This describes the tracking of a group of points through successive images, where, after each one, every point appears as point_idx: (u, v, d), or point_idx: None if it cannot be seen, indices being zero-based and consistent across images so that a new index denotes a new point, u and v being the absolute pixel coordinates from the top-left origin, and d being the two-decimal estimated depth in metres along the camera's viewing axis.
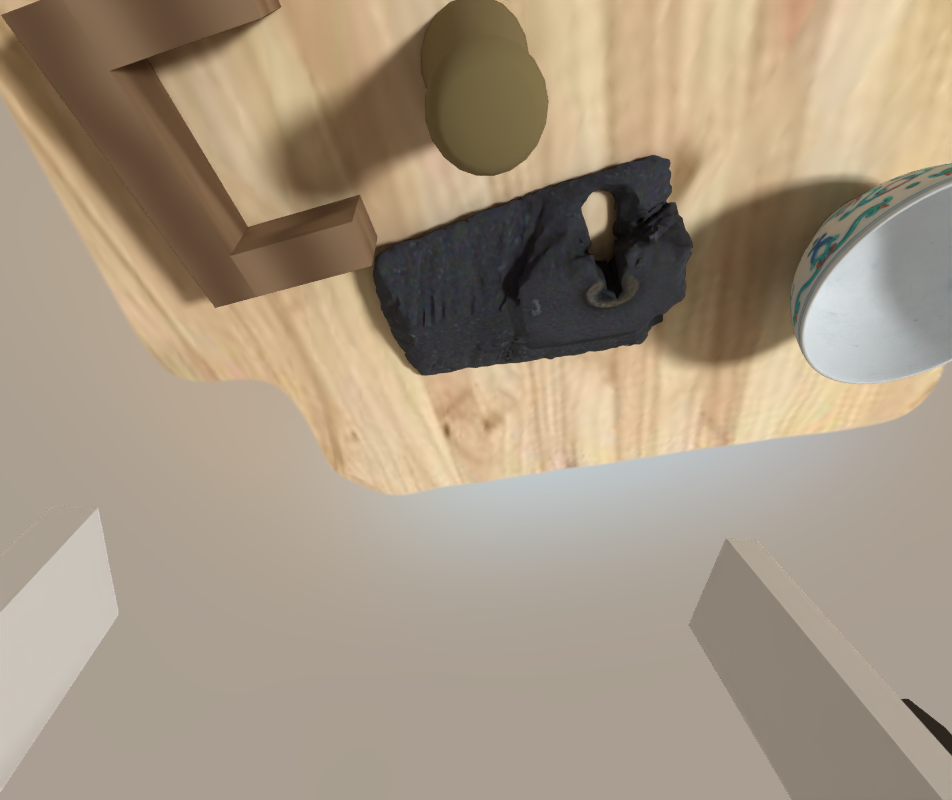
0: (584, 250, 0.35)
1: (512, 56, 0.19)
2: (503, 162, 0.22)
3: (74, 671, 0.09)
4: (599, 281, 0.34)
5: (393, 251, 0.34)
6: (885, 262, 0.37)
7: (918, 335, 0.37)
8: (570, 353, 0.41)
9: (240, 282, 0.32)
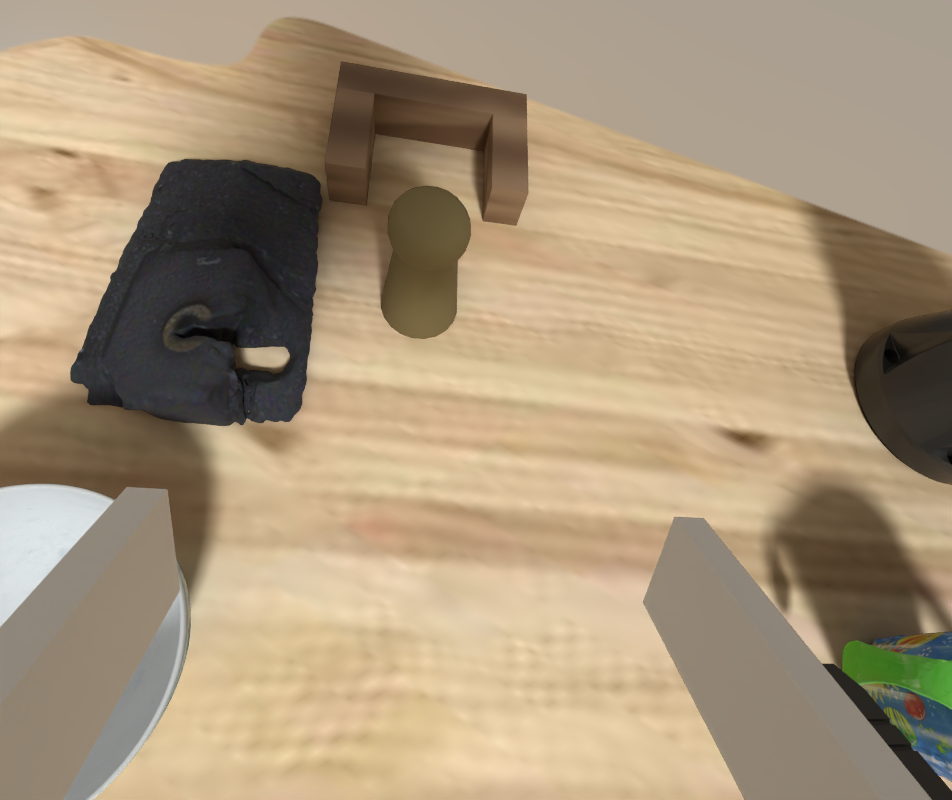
0: (238, 332, 0.36)
1: (459, 238, 0.30)
2: (401, 211, 0.30)
3: (147, 639, 0.10)
4: (210, 315, 0.33)
5: (318, 192, 0.40)
6: None
7: None
8: (109, 291, 0.35)
9: (352, 86, 0.42)
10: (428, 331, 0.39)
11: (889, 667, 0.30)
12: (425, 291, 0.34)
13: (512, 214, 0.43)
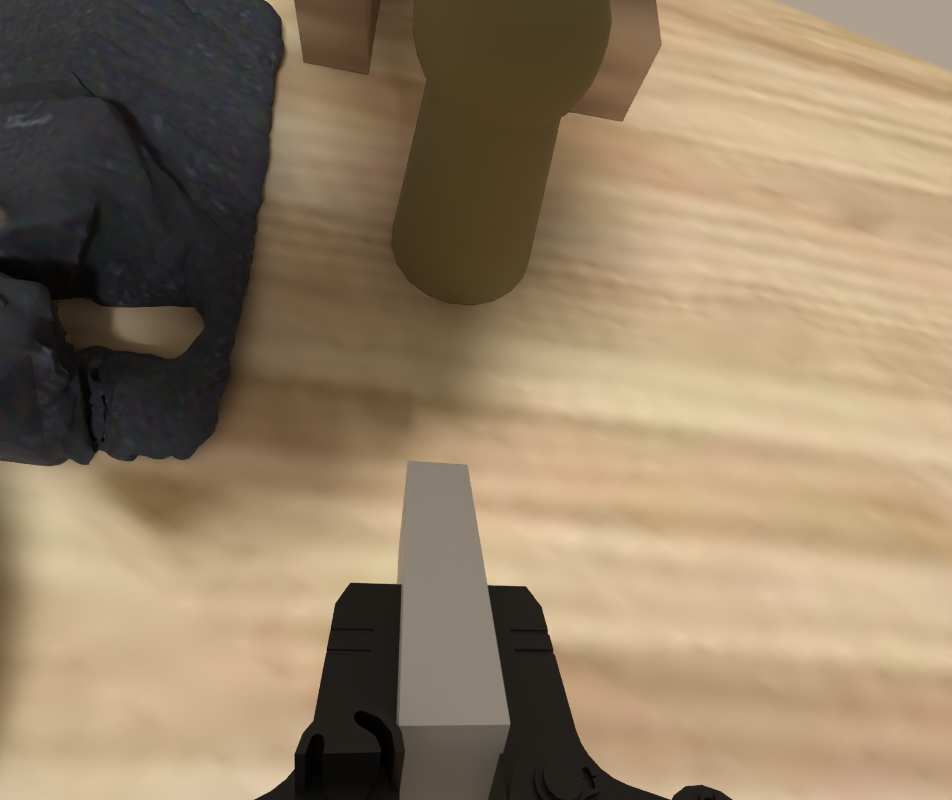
0: (94, 272, 0.18)
1: (593, 31, 0.12)
2: None
3: None
4: (5, 224, 0.15)
5: (276, 32, 0.22)
6: None
7: None
8: None
9: None
10: (481, 290, 0.20)
11: None
12: (488, 193, 0.16)
13: (621, 96, 0.25)
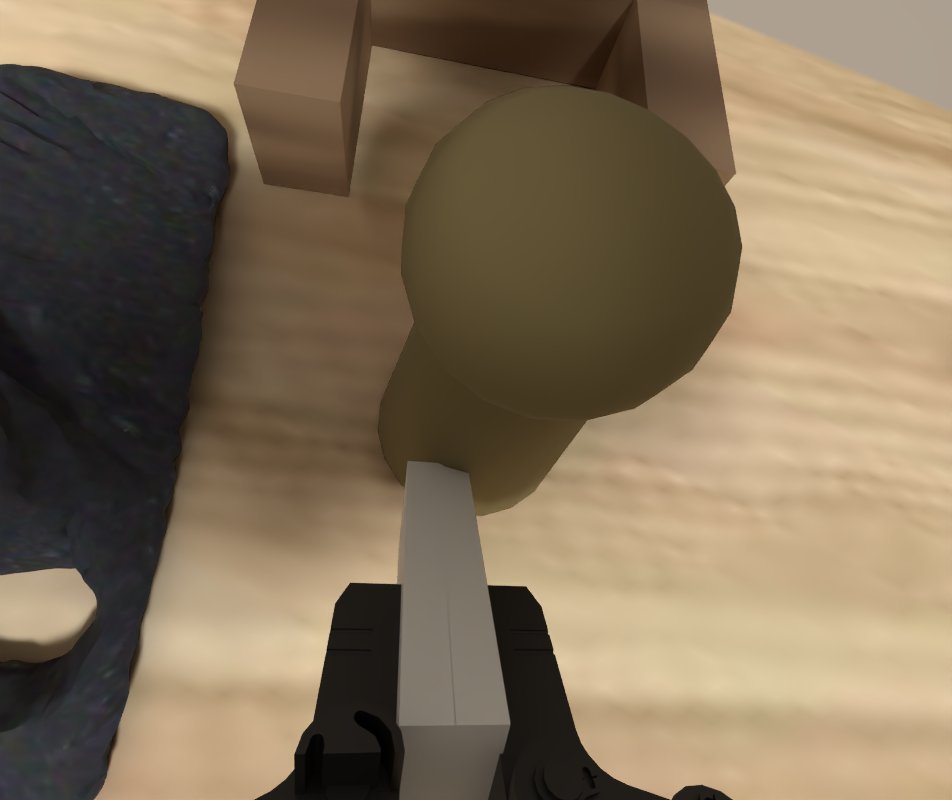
0: None
1: (718, 316, 0.07)
2: (469, 183, 0.06)
3: None
4: None
5: (218, 154, 0.16)
6: None
7: None
8: None
9: None
10: (496, 506, 0.15)
11: None
12: (514, 451, 0.11)
13: None
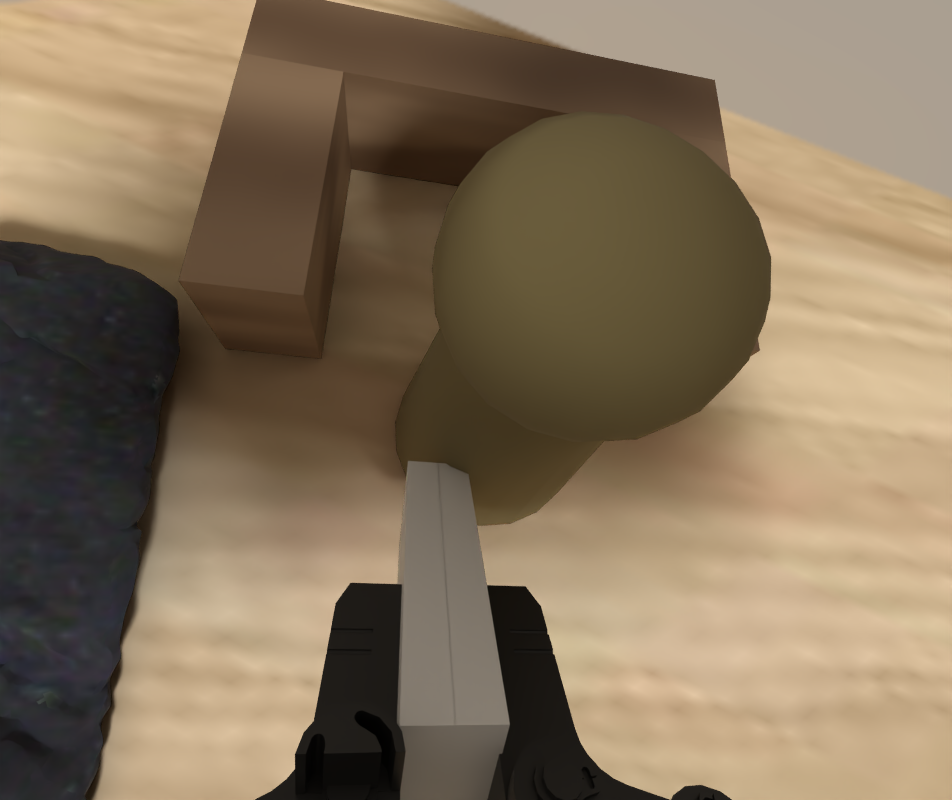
0: None
1: (732, 361, 0.07)
2: (506, 191, 0.07)
3: None
4: None
5: (165, 334, 0.14)
6: None
7: None
8: None
9: (284, 51, 0.16)
10: (494, 518, 0.15)
11: None
12: (516, 463, 0.11)
13: None
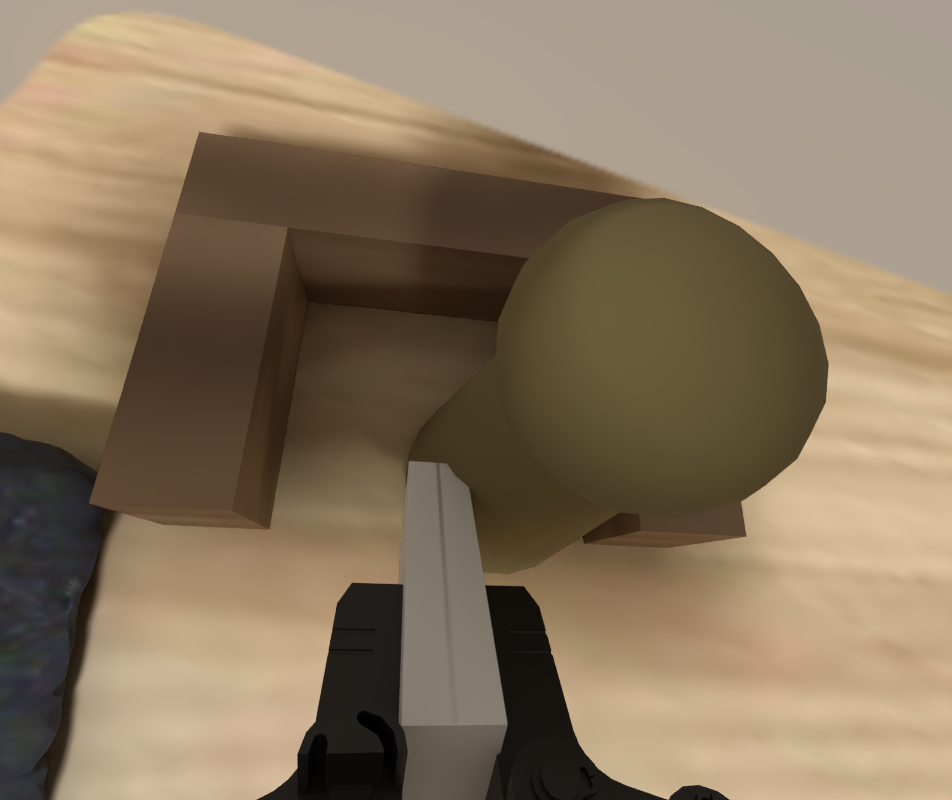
0: None
1: (747, 473, 0.07)
2: (605, 236, 0.07)
3: None
4: None
5: (84, 530, 0.13)
6: None
7: None
8: None
9: (223, 207, 0.14)
10: None
11: None
12: (509, 501, 0.11)
13: (670, 543, 0.16)
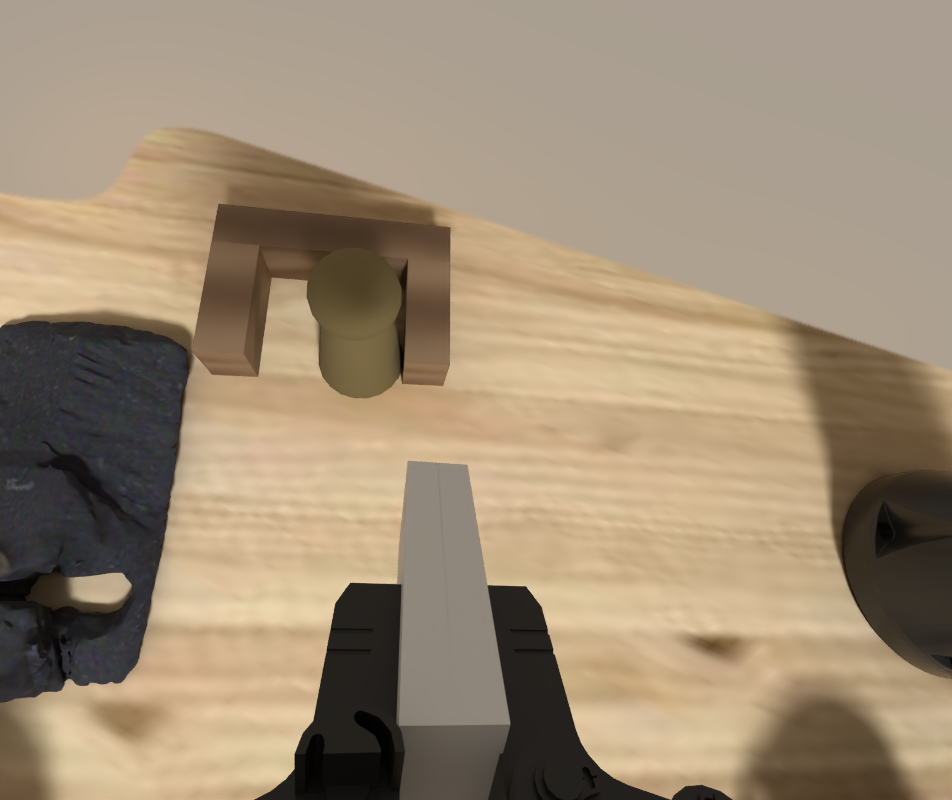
0: (62, 565, 0.29)
1: (364, 320, 0.27)
2: (324, 263, 0.27)
3: None
4: (8, 570, 0.26)
5: (182, 366, 0.33)
6: None
7: None
8: None
9: (231, 237, 0.34)
10: (344, 389, 0.35)
11: None
12: (336, 351, 0.31)
13: (435, 379, 0.36)
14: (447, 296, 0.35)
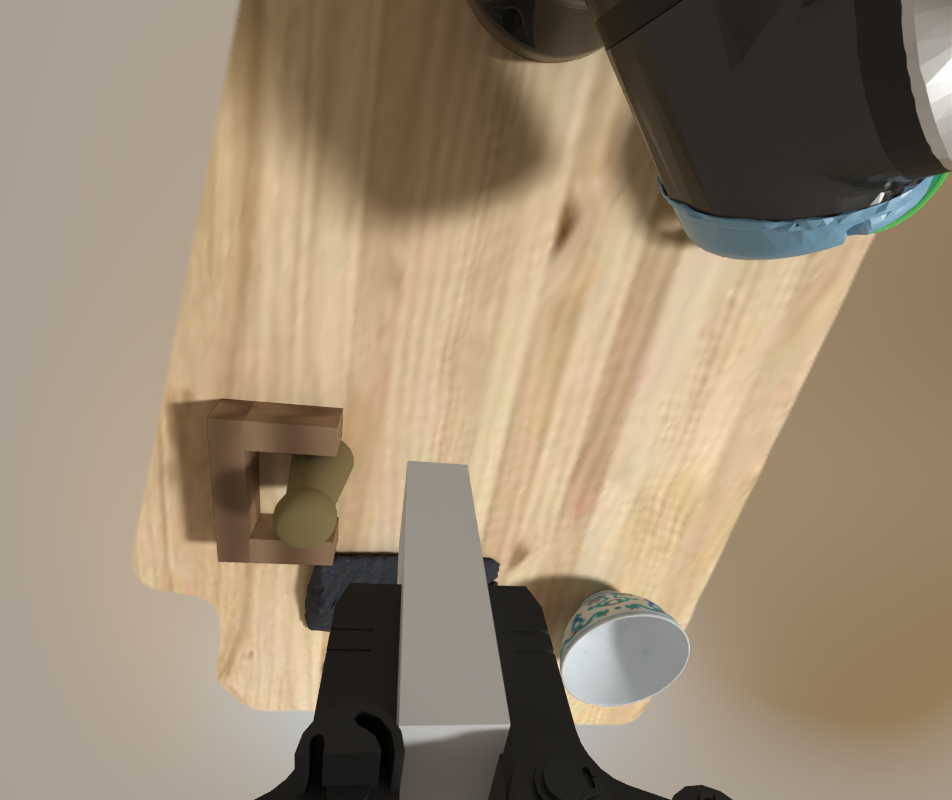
0: None
1: (329, 521, 0.42)
2: (290, 544, 0.42)
3: None
4: None
5: (335, 561, 0.54)
6: (615, 628, 0.64)
7: (626, 679, 0.63)
8: None
9: (245, 553, 0.50)
10: None
11: None
12: None
13: (340, 420, 0.48)
14: (276, 425, 0.45)
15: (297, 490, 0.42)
